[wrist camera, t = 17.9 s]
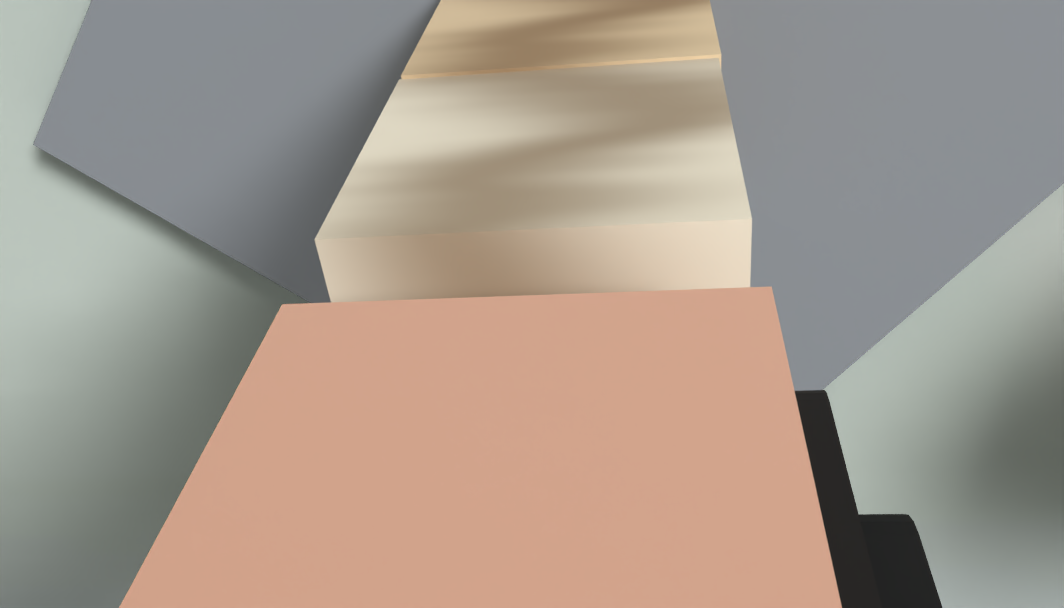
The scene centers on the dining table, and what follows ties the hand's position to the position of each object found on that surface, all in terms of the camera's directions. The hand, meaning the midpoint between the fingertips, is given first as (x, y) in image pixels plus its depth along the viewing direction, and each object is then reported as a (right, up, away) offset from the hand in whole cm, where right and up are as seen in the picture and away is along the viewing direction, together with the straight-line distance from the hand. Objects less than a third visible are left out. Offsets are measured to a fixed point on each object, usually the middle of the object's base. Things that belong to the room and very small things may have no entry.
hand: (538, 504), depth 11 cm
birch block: (+1, +4, +6) cm, 7 cm away
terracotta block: (0, 0, 0) cm, 0 cm away
